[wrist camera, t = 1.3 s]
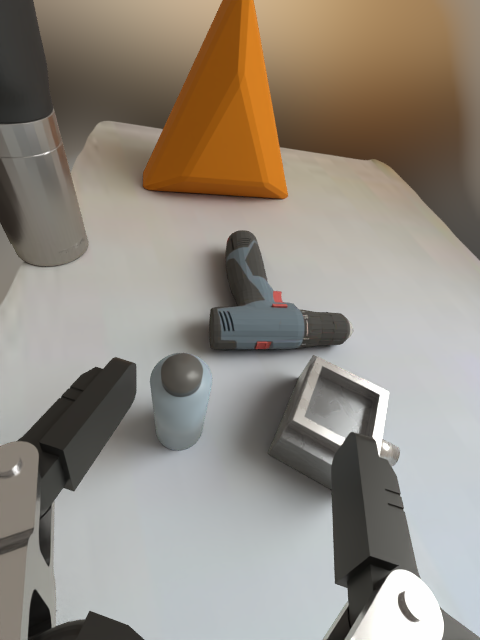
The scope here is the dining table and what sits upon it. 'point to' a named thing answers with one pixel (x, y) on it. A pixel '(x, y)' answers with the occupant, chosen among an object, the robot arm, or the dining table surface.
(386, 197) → the dining table surface
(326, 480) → the grey metal open box
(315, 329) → the power drill
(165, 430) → the capped canister
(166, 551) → the dining table surface
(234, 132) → the decorative object
